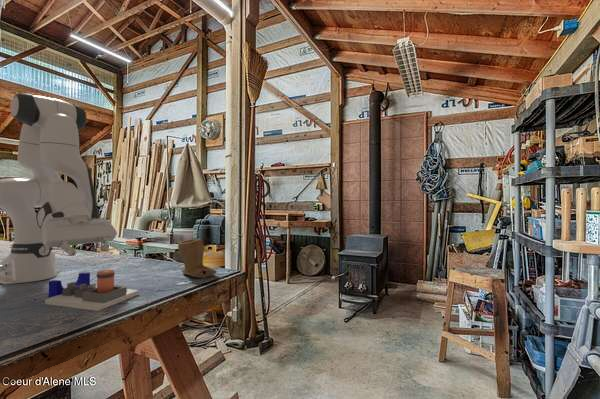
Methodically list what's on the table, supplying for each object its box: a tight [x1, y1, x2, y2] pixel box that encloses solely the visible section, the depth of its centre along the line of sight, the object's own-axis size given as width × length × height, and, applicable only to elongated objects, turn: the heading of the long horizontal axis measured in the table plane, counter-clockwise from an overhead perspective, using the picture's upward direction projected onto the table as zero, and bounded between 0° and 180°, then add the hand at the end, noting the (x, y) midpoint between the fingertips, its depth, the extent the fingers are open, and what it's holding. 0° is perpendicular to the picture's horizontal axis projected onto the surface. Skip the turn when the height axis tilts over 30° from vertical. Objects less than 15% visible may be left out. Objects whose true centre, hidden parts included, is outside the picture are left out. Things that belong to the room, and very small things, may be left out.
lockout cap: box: [96, 269, 116, 294], centre depth 94 cm, size 5×5×8 cm
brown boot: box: [177, 238, 217, 279], centre depth 127 cm, size 15×12×15 cm
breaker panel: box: [44, 281, 139, 312], centre depth 97 cm, size 20×15×5 cm
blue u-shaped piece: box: [48, 271, 91, 298], centre depth 102 cm, size 12×4×6 cm, turn 169°
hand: (89, 252), depth 98 cm, fingers open, 8 cm apart
